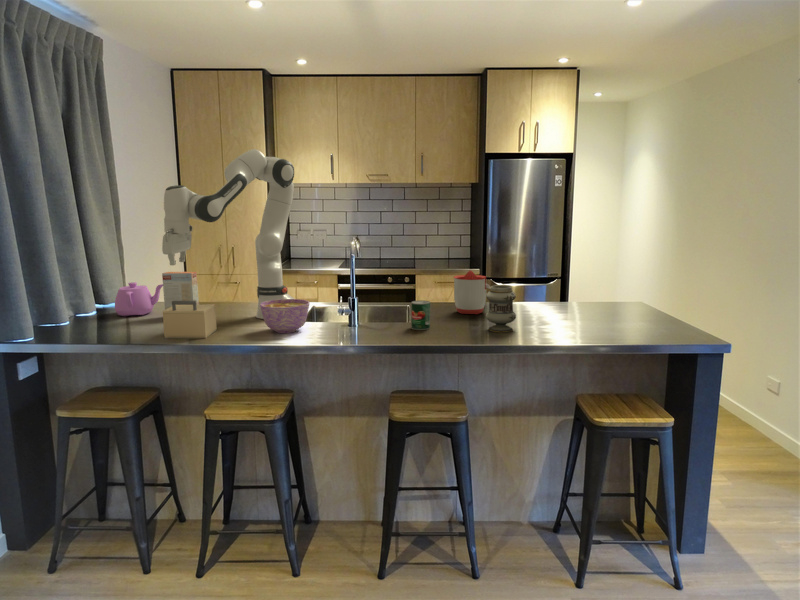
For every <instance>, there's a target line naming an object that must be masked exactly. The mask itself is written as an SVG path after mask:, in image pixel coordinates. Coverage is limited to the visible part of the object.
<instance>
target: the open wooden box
mask: <svg viewBox="0 0 800 600" xmlns="http://www.w3.org/2000/svg"><path fill="white" fill-rule="evenodd" d="M216 314H217V313H216V306H215V307H213V308H211V309H210V310H208V311H206V312H205V313H163V312H162V321H163V333H164V335H163V336H164V339H165V338H178V339H207V338H209V337H210V336H211V335H213V334H214V333H215V332H216V331H217V330H218V329H217V315H216Z"/></svg>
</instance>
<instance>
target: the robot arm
mask: <svg viewBox="0 0 800 600" xmlns="http://www.w3.org/2000/svg"><path fill="white" fill-rule="evenodd" d="M223 171H224V174H223V176H224V178H225V181H226V183H225V184H224V185H223V186H222V187H220V189H219V190H217V191H216V192H215V193H213V194H209V195H205V194H204V195H202V194H198V193H197V192H193V191H192V190H190V189H189V188H187V187H186V185H183V184H181V185H179V184H178V185H172V186H168V187H167V188H165V190H164V194H163V210H164V219H163V220H164V221H163V222H164V223H163V226H164V230H163V231H164V234H163V235H162V243H161V245H162V248H161V250H162V254H163V255H167V258H168V260H169V266H176V264H177V263H176V261H177V260H175V259H176V258H175V256H176V254H178V253H179V257H178V261H179V262H180V263H184V262H186V255H187V251H188V250H190V249H191V248H192V239H193V238H192V232H193V229H194V227H193V225H191V224H190V222H189V221H190V219H194V220H198V221H203V222H206V223H215V222H217V221H218V220H220V219H221V217H222V216H223V213H224V212H225V210H226V208H227V207H228V206H229V205H230V204H231V203H232V202H233V201H234V200H235V199H236V198H237V197H238V196H239V195H240V194H241V193H242V192H243V191H244V189H245V188H247V186H249V184H251V183H252V182H253V181H254V180H259V181H263V182H266V183H269V190H268V194H267V198H266V201H265V205H264V209H263V214H262V218H261V222H260V223H261V224H260V228H259V233H258V234H257V236H256V238H255V241H254V245H255V256H256V258H255V259H256V266H257V268H256V269H257V270H256V271H257V286H256V288H257V289H256V292H257V293H256V294H257V300H258V302H257V311H256V315H255V317H256V318H257V319H262V320H264V318H263V315H262V311H261V308H260V303H262V302H266V301H271V300H279V299H295V298H294V297H293V296H291V295H290V294H289V293H288V292H289V291H288V290H289V289H288V286H285V285H283V284H284V280H283V266H282V265H283V264H282V258H281V257H282V255H281V251H282V250H283V247H284V246H283V245H284V242H285V241H284V240H285V236H286V232H287V231H286V230H287V226H288V220H289V216H290V212H291V208H292V204H293V199H294V189H295V184H294V182H293V181H294V179H295V167H294V165H293V163H292V162H290V161H289V160H287V159H284V158H280V157H276V156H265V154H264V153H263V152H262V151H260V150H259V149H257V148H256V149H255V148H253V149H252V148H251V149H249V150H247V151H245V152H243V153H242V154H240V155H239V156H237V157H236V158H235V159H233V160H231V162H229V164H227V166H226V167H225V168H224V170H223Z"/></svg>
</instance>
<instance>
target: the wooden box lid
mask: <svg viewBox="0 0 800 600" xmlns="http://www.w3.org/2000/svg"><path fill="white" fill-rule="evenodd" d="M196 303H197V302H196V300H195V301H172V307H170V308H168V309H166V310H165V309H164V310H162V314H163V313H205V312H206V311H208V310H210V309H211V308H213V307H215V308H216V304H214V303H213V304H211V303H210V304H209V303H206V304H201V303H199V304H196Z"/></svg>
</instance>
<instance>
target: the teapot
mask: <svg viewBox="0 0 800 600" xmlns="http://www.w3.org/2000/svg"><path fill="white" fill-rule="evenodd" d="M137 284H138V282H128V285H126V286H120V287H119V289H118V291H117V293H116V295H115V296H116V297H115V300H114V310H115V312H116V314H117V315H118V316H122V317H129V316H139V315H142V316H145V315H146V314H147V315H148V314H149V313H151V312H152V311H153V309H154V306H155V305H156V304H157V303H158V302H159V300H160V293H161V288H163V283H162V284H158V285H157V286H156V287H155V293H154V295H153V296H152V294H151V291H150V290H149V288H148V286H147V285H137Z"/></svg>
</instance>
